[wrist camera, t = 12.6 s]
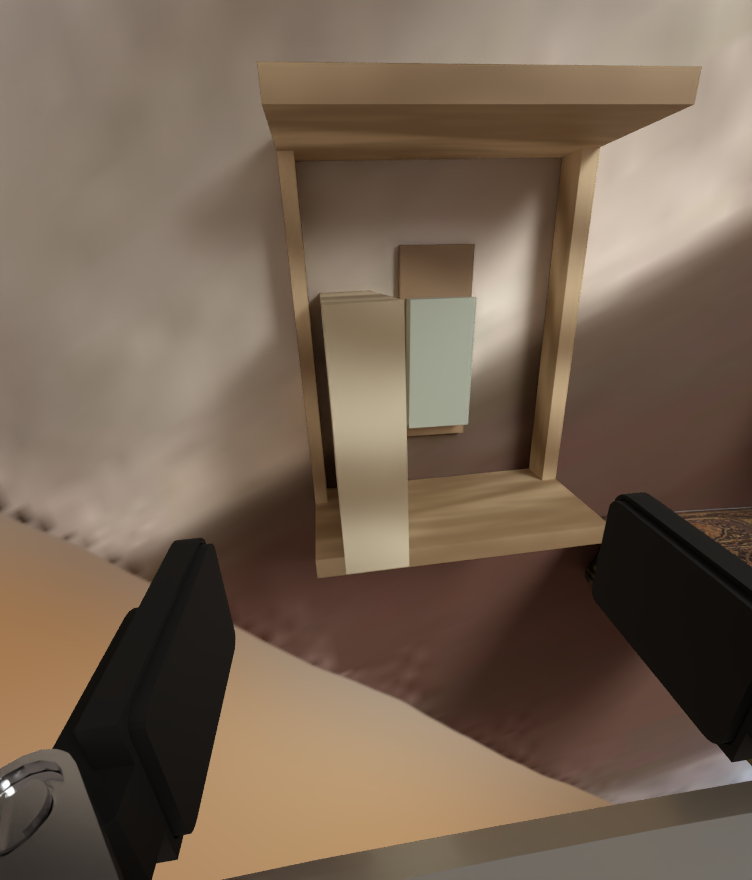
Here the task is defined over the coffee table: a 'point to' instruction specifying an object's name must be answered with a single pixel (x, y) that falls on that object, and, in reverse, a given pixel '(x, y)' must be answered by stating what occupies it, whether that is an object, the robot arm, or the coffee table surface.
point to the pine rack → (578, 143)
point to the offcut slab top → (439, 360)
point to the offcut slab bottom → (435, 287)
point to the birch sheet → (368, 425)
